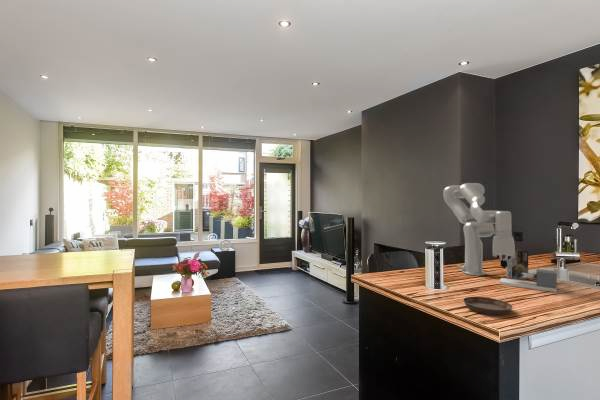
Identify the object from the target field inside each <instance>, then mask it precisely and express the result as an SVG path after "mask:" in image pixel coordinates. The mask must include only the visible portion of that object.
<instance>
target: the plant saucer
mask: <svg viewBox="0 0 600 400" xmlns="http://www.w3.org/2000/svg"><path fill="white" fill-rule="evenodd" d="M462 301H463V303H464V305H465V306H466V307H467V308H468V309H469V310H471V311H473V312H476V313H479V314H484V315H491V316H503V315H506V314H508V313H510V311H511V310H513V305H512V304H511V303H509V302H506V301H503V300H500V299H496V298H493V297H485V296H468V297H467V296H466V297H464V298H463V299H462Z"/></svg>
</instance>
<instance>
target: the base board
mask: <svg viewBox="0 0 600 400" xmlns="http://www.w3.org/2000/svg"><path fill="white" fill-rule="evenodd" d="M499 285H501V286H509V287H515V288H516V287H517V288H524V289H531V290H539V291H545V292H546V291H547V292H552V291H553V293H557V290H558V288H557V289H556V288H548V287H540V286H537V285H536V281H529V280H522V279H512V278H505V277H501V278H500V280H499Z"/></svg>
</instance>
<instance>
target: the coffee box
mask: <svg viewBox="0 0 600 400" xmlns="http://www.w3.org/2000/svg"><path fill="white" fill-rule="evenodd" d="M515 256H516V257H515V258H510V259H509V260H507V267H506V277H507V278H509V279H514V280H516V279H515V278H514V273H515V269H517V270H519V272H521V273H529V250H526V249H522V248H520V249H519V248H515ZM522 279H523V280H524V279H525V280H529V278H525V277H519V279H518V280H522Z"/></svg>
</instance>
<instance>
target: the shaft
mask: <svg viewBox="0 0 600 400" xmlns="http://www.w3.org/2000/svg"><path fill="white" fill-rule="evenodd" d="M519 277H525V278H528V279H533V280H534V279H535V280H536V279H537V273H530V272H528V273H521V272H519V270H517V269H515V273H514V278H515V279H514V280H520V279H519Z"/></svg>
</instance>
